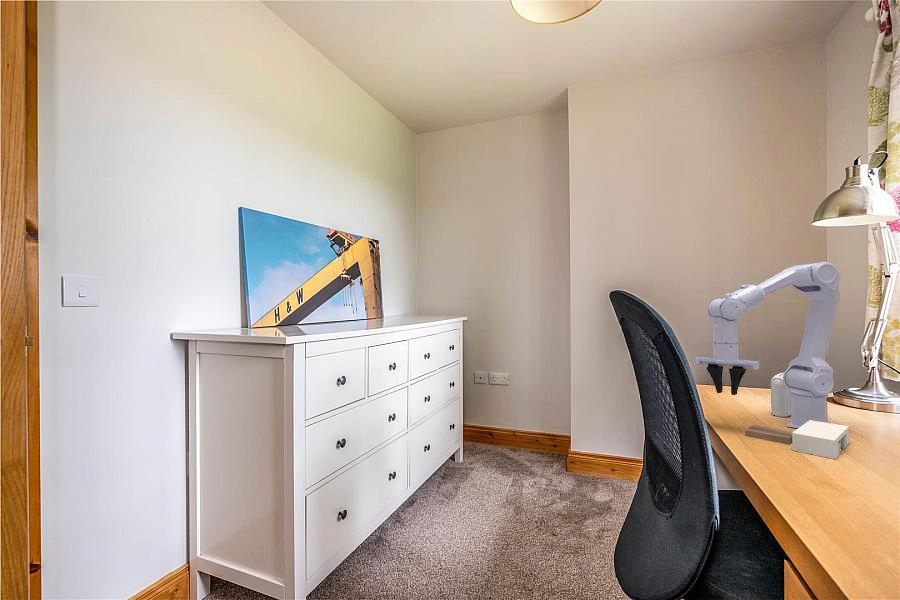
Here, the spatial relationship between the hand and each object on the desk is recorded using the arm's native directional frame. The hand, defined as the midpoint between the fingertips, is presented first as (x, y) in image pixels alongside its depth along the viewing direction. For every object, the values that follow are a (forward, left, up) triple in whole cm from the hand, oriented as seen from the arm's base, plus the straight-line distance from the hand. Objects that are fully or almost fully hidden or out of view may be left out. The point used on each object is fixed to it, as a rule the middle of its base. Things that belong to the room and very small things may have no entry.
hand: (726, 393), depth 112 cm
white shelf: (0, +19, -9) cm, 21 cm away
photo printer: (-29, +6, -10) cm, 31 cm away
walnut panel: (0, +10, -10) cm, 14 cm away
